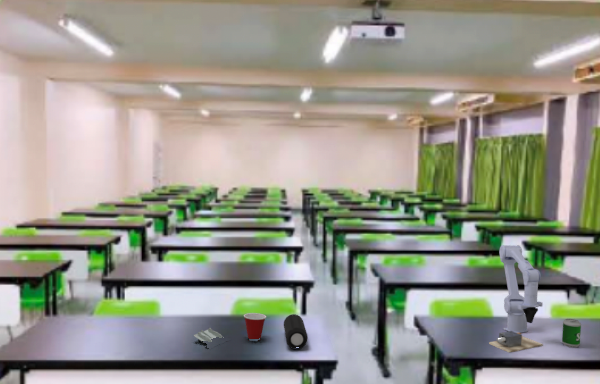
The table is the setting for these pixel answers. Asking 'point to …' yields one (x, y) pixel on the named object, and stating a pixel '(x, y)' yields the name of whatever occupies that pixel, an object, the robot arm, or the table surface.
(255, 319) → the plastic cup
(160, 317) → the table surface
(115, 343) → the table surface
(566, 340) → the soda can
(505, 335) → the bearing stand
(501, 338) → the shaft
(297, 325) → the portable speaker
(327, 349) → the table surface
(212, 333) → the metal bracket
